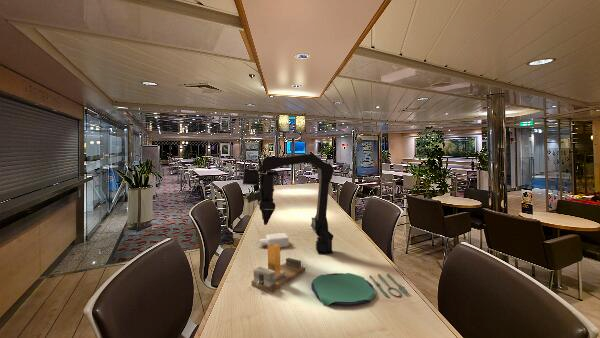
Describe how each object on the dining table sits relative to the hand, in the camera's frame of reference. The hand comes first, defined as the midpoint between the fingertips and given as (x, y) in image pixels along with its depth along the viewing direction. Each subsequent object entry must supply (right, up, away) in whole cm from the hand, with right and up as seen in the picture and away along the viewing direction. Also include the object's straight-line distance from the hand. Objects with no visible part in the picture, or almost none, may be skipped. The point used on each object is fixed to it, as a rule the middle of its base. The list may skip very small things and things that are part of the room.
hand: (264, 222), depth 117 cm
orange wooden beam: (+5, -14, -25) cm, 30 cm away
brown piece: (+8, -16, -20) cm, 27 cm away
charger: (+1, -15, +16) cm, 22 cm away
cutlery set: (+34, -17, -29) cm, 48 cm away
